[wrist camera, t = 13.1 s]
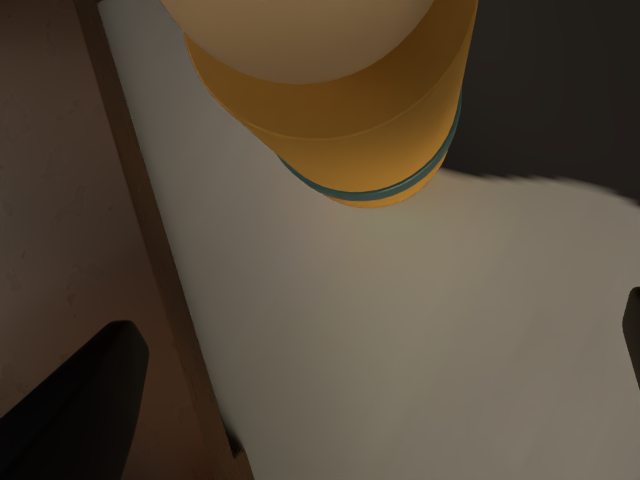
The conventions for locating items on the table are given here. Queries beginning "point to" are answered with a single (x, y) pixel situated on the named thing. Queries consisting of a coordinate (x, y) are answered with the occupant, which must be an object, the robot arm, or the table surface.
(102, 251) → the wooden desk tray
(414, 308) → the table surface
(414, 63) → the doll
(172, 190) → the table surface
